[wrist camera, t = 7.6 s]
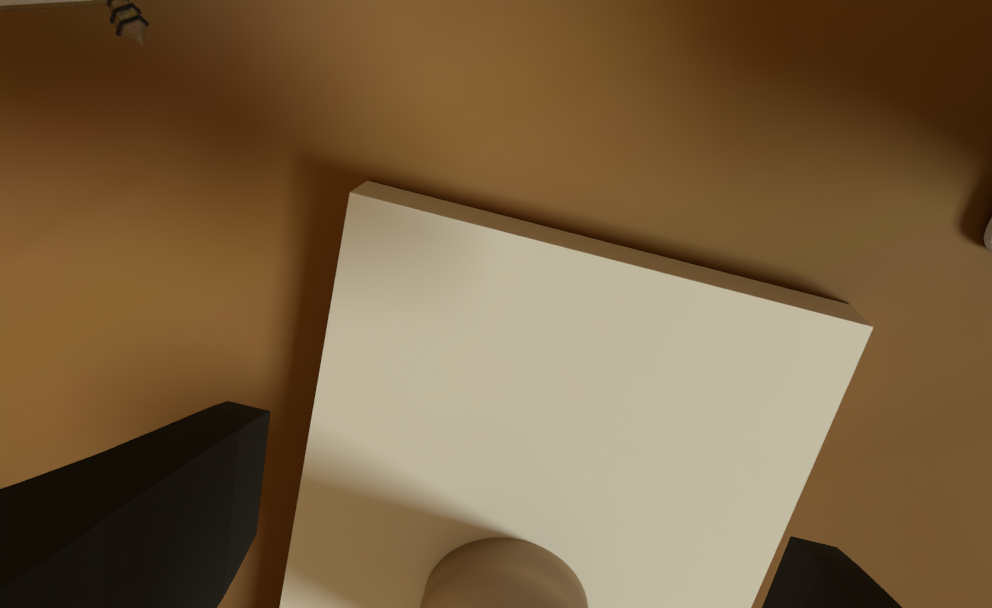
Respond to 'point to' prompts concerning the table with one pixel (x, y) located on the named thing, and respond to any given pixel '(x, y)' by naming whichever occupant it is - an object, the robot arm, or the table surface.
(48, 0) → the game die
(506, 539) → the oak cylinder
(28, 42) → the table surface
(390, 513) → the ceramic tile
